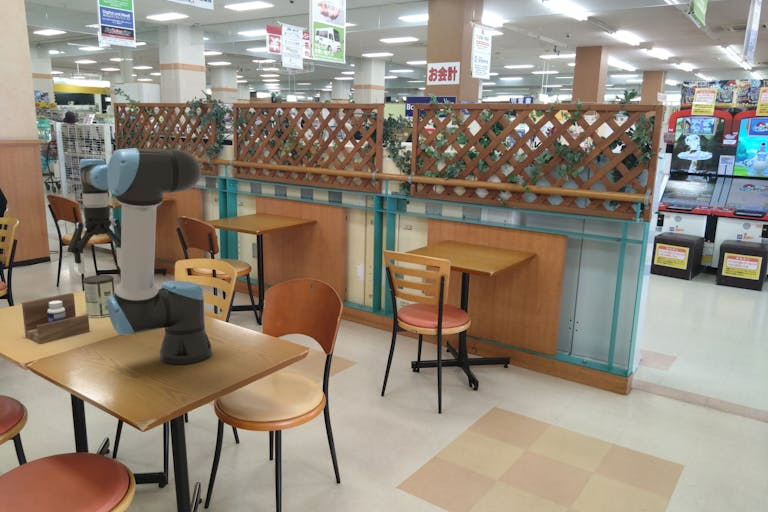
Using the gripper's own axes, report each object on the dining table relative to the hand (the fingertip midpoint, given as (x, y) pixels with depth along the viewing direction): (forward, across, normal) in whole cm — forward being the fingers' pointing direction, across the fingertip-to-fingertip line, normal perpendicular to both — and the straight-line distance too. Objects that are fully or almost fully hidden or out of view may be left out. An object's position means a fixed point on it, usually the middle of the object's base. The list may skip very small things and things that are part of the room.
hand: (102, 269), depth 191 cm
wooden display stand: (+22, +10, -13) cm, 28 cm away
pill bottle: (+20, +10, -13) cm, 26 cm away
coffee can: (+22, -12, -24) cm, 34 cm away
